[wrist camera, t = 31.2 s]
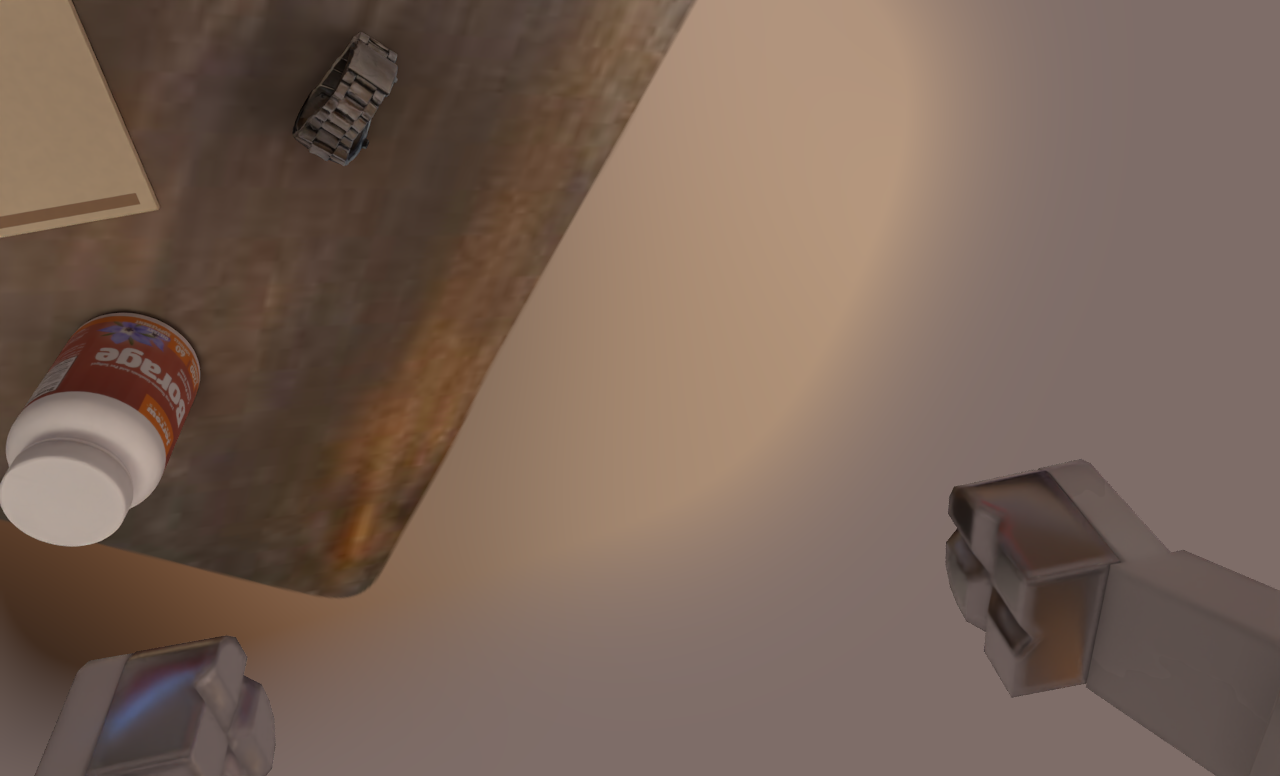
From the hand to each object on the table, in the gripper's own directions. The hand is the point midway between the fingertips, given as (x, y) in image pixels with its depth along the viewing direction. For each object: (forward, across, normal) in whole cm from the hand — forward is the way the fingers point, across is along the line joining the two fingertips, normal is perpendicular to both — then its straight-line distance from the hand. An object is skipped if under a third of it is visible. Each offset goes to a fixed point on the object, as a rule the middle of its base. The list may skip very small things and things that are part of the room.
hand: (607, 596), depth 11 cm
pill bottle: (+37, +21, +15) cm, 45 cm away
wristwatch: (+37, +7, +4) cm, 38 cm away
